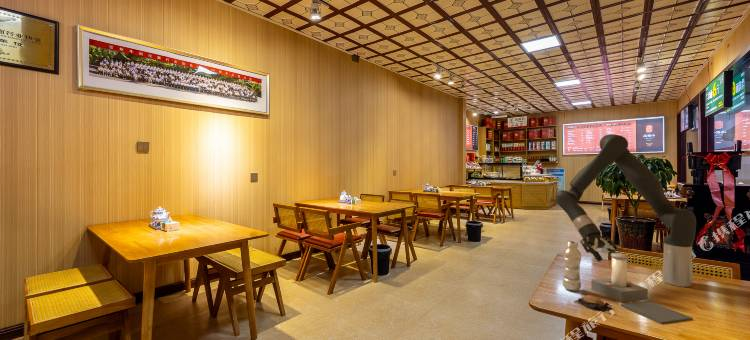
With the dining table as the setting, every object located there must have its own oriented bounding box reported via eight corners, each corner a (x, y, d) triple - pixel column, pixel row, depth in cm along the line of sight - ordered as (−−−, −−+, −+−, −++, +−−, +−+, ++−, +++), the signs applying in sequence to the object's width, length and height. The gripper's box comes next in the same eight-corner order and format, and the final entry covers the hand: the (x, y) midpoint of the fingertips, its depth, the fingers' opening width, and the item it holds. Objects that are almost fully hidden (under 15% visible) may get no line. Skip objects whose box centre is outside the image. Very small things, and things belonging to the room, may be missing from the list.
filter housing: (616, 286, 141) (616, 275, 141) (647, 299, 129) (648, 286, 129) (591, 289, 138) (591, 278, 138) (621, 302, 126) (621, 289, 126)
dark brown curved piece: (571, 303, 125) (571, 294, 125) (584, 299, 130) (584, 290, 130) (602, 315, 116) (602, 304, 116) (614, 309, 120) (614, 299, 120)
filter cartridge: (617, 290, 137) (618, 252, 136) (630, 296, 131) (631, 256, 131) (606, 292, 136) (607, 253, 135) (619, 297, 130) (620, 257, 130)
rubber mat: (649, 302, 126) (649, 300, 126) (692, 319, 112) (692, 317, 112) (620, 305, 122) (620, 304, 122) (660, 323, 109) (660, 322, 109)
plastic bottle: (583, 293, 134) (584, 244, 133) (565, 292, 135) (566, 243, 135) (577, 287, 140) (578, 240, 140) (560, 286, 142) (561, 240, 141)
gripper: (578, 223, 144) (601, 256, 133) (604, 222, 147) (629, 254, 136) (568, 232, 149) (589, 265, 138) (593, 231, 153) (616, 263, 142)
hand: (609, 260), depth 137 cm, fingers open, 8 cm apart
